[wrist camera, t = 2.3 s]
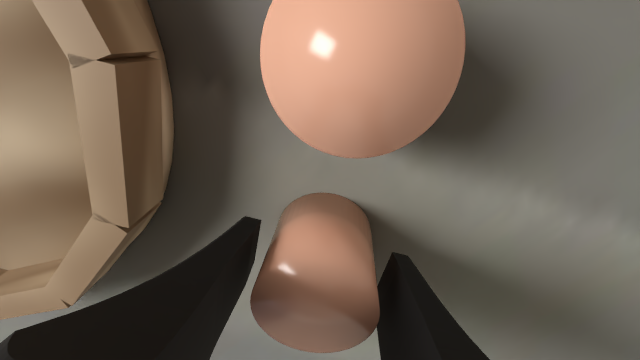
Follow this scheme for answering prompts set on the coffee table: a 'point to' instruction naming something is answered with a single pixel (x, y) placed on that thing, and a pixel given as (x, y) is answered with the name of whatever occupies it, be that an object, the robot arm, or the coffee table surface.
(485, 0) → the coffee table surface
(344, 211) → the bead
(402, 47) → the bead
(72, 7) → the ring tray
